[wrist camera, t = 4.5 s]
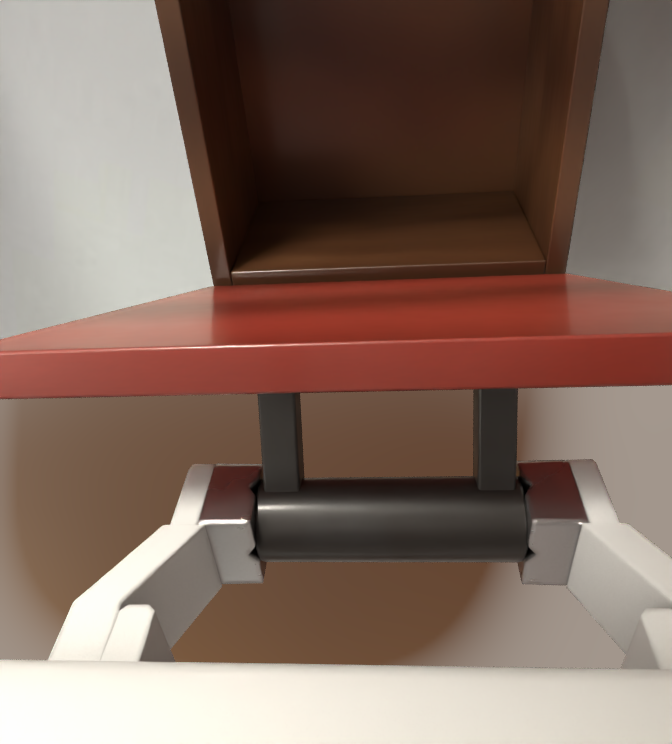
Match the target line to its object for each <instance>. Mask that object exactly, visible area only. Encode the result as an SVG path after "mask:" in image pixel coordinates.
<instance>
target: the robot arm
mask: <svg viewBox="0 0 672 744" xmlns="http://www.w3.org/2000/svg"><path fill="white" fill-rule="evenodd" d="M516 477H517V478H518V479H519V481H520V482H521V484H522V486H523V489H524V493H525V506H526V514H527V543H528V549H527V553H526V557H525V558H524V560H523V561H521V562H517V563H518V567H519V572H520V576H521V581H522V584H537V585H567V589H568V590H569V591H570V592H571V593H572V594H573V595H574V597H575V598H576V599H577V600H578V601H579V602H580V603H581V604H582V606H584V608H585V609H586V610H587V611H588V612H589V613H590V615H591V616H592V617H593V618H594V619H595V620H596V621H597V622H598V623H599V625H600V626H601V627H602V628H603V629H604V630H605V631H606V633H607V634H608V635H609V636H610V637H611V638H612V639H613V640H614V642H615V643H616V644H617V645H618V646H619V647H620V648H621V649H622V651H623V652H624V653H625V654H626V656H625V659H624V661H623V664H622V666H621V669H601V668H533V667H530V668H528V667H459V666H456V667H455V666H395V665H393V666H392V665H330V664H268V663H267V664H266V663H201V662H199V663H198V662H175V660H174V657H173V655H172V652H171V650H170V649H171V648H172V647H173V645H174V644H175V643H176V642H177V641H178V639H179V638H180V637H181V636H182V635H183V633H184V632H185V631H186V629H187V628H188V627H189V626H190V625H191V624H192V622H193V621H194V620H195V618H196V617H197V616H198V615H199V614H200V613H201V611H202V610H203V609H204V608H205V607H206V605H207V604H208V603H209V602H210V600H211V599H212V598H213V597H214V596H215V594H216V593H217V592H218V591H219V589H220V588H221V587H222V585H221V584H238V583H263V579H264V574H265V569H266V562H264V561H262V560H260V558H259V557H258V554H257V551H256V546H255V544H256V535H255V513H256V502H257V501H256V494H257V490H258V487H259V485H260V483H261V481H262V480H263V467H262V464H193V465H192V466H191V468H190V469H189V471H188V474H187V477H186V480H185V482H184V485H183V488H182V492H181V494H180V497H179V501H178V503H177V506H176V509H175V512H174V515H173V518H172V521H171V524H170V525H163V526H162V527H160V528H159V529H158V530H157V531H156V532H155V533H153V534H152V535H151V536H150V537H149V538H147V539H146V540H145V541H144V542H143V543H142V544H141V545H139V546H138V547H137V548H136V549H135V550H134V551H132V552H131V553H130V554H129V555H128V556H126V557H125V558H124V559H123V560H122V561H121V562H120V563H119V564H117V565H116V566H115V567H114V568H112V569H111V570H110V571H109V572H108V573H107V574H106V575H104V576H103V577H102V578H101V579H100V580H98V581H97V582H96V583H95V584H94V585H93V586H91V587H90V588H89V589H88V590H87V591H86V592H84V593H83V594H82V595H81V596H80V597H79V598H77V599H76V600H75V601H74V602H73V604H72V606H71V608H70V611H69V613H68V616H67V618H66V620H65V622H64V624H63V627H62V629H61V631H60V634H59V636H58V638H57V640H56V642H55V645H54V647H53V649H52V652H51V654H50V656H49V658H48V660H4V659H3V660H2V659H0V744H672V557H670V556H669V555H668V554H667V553H665V552H664V551H663V550H662V549H660V548H659V547H658V546H656V545H655V544H654V543H652V542H651V541H650V540H649V539H647V538H646V537H645V536H643V535H642V534H641V533H640V532H638V531H637V530H636V529H635V528H633V527H632V526H630V524H628V523H620V522H619V519H618V517H617V514H616V511H615V509H614V506H613V504H612V501H611V499H610V497H609V494H608V492H607V489H606V486H605V484H604V481H603V479H602V477H601V474H600V472H599V469H598V466H597V464H596V462H595V461H594V460H592V459H588V460H587V459H585V460H566V461H565V460H543V461H516Z"/></svg>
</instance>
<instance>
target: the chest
mask: <svg viewBox="0 0 672 744" xmlns="http://www.w3.org/2000/svg"><path fill="white" fill-rule="evenodd" d="M155 4H156V9H157V14H158V19H159V24H160V29H161V33H162V38H163V43H164V48H165V53H166V57H167V62H168V67H169V72H170V77H171V82H172V86H173V91H174V96H175V101H176V106H177V111H178V115H179V120H180V125H181V130H182V135H183V139H184V144H185V149H186V154H187V159H188V164H189V168H190V173H191V178H192V183H193V188H194V192H195V197H196V202H197V207H198V212H199V217H200V221H201V226H202V231H203V236H204V241H205V245H206V250H207V255H208V260H209V265H210V270H211V274H212V279H213V284H214V286H232V285H260V284H288V283H316V282H344V281H372V280H400V279H428V278H456V277H484V276H512V275H539V274H565V272H566V266H567V260H568V253H569V247H570V241H571V235H572V229H573V223H574V216H575V210H576V204H577V198H578V192H579V185H580V179H581V173H582V167H583V161H584V155H585V148H586V142H587V136H588V130H589V124H590V117H591V111H592V105H593V99H594V93H595V86H596V80H597V74H598V68H599V62H600V56H601V49H602V43H603V37H604V31H605V25H606V18H607V12H608V6H609V0H155Z"/></svg>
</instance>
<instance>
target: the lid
mask: <svg viewBox="0 0 672 744" xmlns="http://www.w3.org/2000/svg"><path fill="white" fill-rule="evenodd" d="M649 385H650V386H652V385H672V292H671V291H666V290H660V289H654V288H648V287H642V286H637V285H631V284H625V283H619V282H613V281H608V280H602V279H596V278H590V277H584V276H578V275H573V274H539V275H512V276H484V277H456V278H428V279H400V280H372V281H344V282H316V283H288V284H260V285H232V286H211V287H207V288H203V289H199V290H195V291H191V292H187V293H183V294H179V295H175V296H171V297H167V298H163V299H159V300H155V301H151V302H147V303H143V304H139V305H135V306H131V307H127V308H123V309H119V310H115V311H111V312H107V313H103V314H99V315H95V316H91V317H87V318H83V319H79V320H75V321H71V322H68V323H64V324H60V325H56V326H52V327H48V328H44V329H40V330H36V331H32V332H28V333H24V334H20V335H16V336H12V337H8V338H4V339H0V399H28V398H29V399H33V398H81V397H127V396H128V397H129V396H177V395H222V394H223V395H224V394H258V405H259V420H260V436H261V452H262V467H263V480H262V481H261V483H260V485H259V487H258V490H257V494H256V501H257V502H256V513H255V535H256V544H255V546H256V551H257V554H258V557H259V558H260V560H262V561H264V562H521V561H523V560H524V558H525V557H526V553H527V549H528V543H527V514H526V506H525V493H524V489H523V486H522V484H521V482H520V481H519V479H518V478H517V477H516V458H517V456H516V455H517V401H518V400H517V399H518V397H517V395H518V388H558V387H605V386H649ZM462 389H474V410H473V415H474V416H473V417H474V419H473V421H474V423H473V425H474V427H473V435H474V436H473V476H461V477H460V476H458V477H457V476H454V477H361V478H360V477H354V478H352V477H350V478H304V463H303V443H302V424H301V405H300V393H320V392H365V391H366V392H368V391H414V390H415V391H416V390H462Z"/></svg>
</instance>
